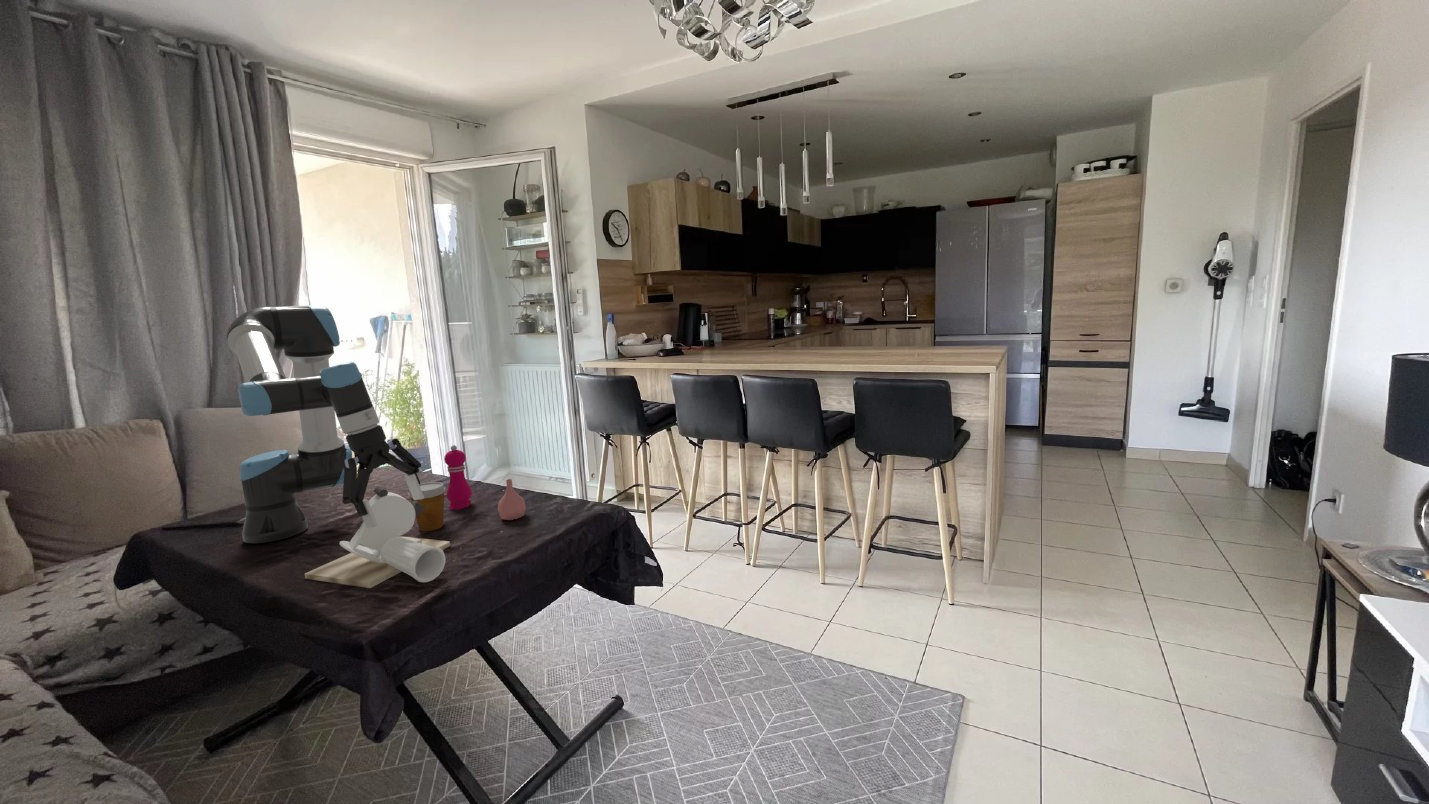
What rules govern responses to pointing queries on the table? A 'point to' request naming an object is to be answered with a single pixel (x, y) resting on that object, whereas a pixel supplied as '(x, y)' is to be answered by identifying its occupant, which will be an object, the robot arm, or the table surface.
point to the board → (361, 569)
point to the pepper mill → (457, 479)
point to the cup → (414, 558)
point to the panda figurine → (383, 524)
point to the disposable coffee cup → (431, 506)
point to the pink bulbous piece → (511, 504)
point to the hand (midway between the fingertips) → (397, 513)
